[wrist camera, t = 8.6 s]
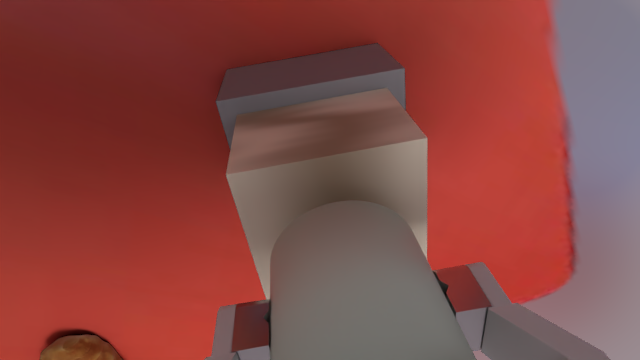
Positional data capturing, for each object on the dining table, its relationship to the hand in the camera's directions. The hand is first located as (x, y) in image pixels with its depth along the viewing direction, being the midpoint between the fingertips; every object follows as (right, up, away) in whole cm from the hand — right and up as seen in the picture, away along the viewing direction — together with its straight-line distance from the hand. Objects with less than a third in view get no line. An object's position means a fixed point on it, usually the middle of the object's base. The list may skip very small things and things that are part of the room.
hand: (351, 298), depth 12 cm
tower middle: (-1, +4, +7) cm, 8 cm away
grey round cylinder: (0, +1, +1) cm, 2 cm away
